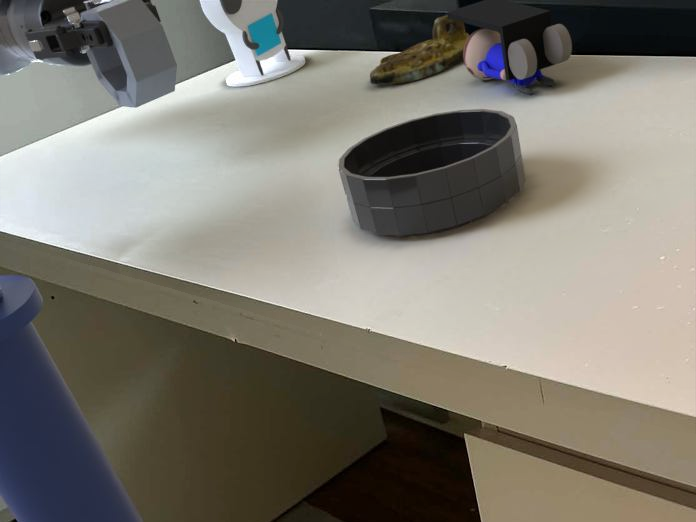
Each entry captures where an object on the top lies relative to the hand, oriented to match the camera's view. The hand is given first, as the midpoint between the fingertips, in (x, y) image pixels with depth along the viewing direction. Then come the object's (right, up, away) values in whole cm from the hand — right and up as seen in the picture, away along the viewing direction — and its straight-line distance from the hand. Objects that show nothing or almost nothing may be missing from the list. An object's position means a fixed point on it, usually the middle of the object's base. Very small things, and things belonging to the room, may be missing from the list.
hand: (130, 25), depth 94 cm
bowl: (+31, -24, -13) cm, 42 cm away
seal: (+28, +9, +21) cm, 36 cm away
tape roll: (-1, -4, +6) cm, 7 cm away
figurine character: (+39, -1, +8) cm, 40 cm away
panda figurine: (+5, +17, +37) cm, 41 cm away
